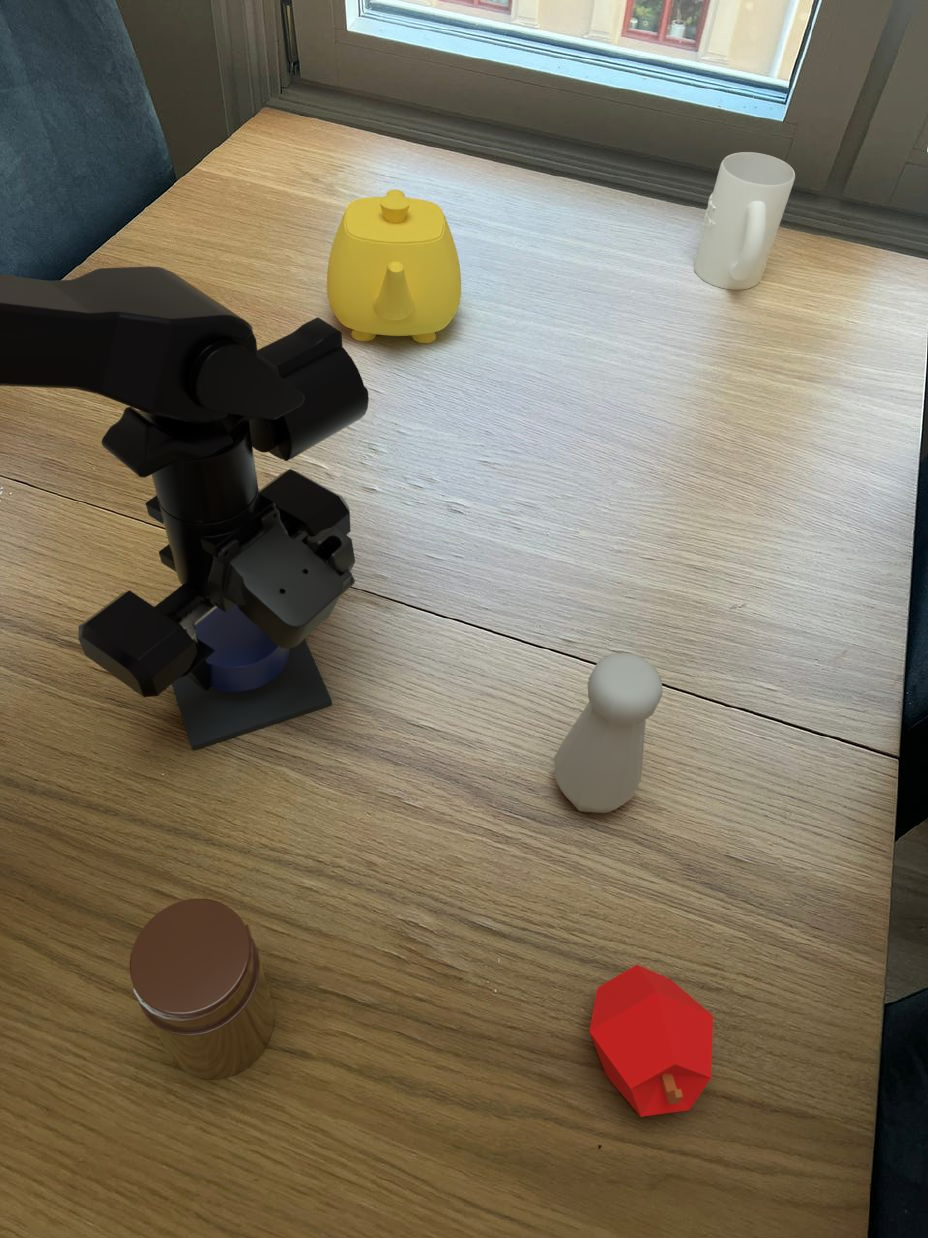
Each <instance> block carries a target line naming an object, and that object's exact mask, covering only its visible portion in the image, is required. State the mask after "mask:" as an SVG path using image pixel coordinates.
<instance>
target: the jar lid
mask: <svg viewBox="0 0 928 1238" xmlns="http://www.w3.org/2000/svg"><path fill="white" fill-rule="evenodd" d="M195 628H196V631H197V635H196V636H197V638H198V639H199V640H201V641H202V642H204V643H205V644H206V645H208V646H209V647H211V648H212V649H214V650H215V652H214V653H213V654H211V655H210V656H209V657H208V658H207V659H206V662H207V666H208V670H209V673H210V678H211V687H213V688H216V689H219V690H223V691H229V692H241V691H248V690H252V689H256V688H258V687H261V686H263V685H265V684H267V683H268V682H270V681H271V680H273V679H274V678H275V677H276V676H277V675H278V674H280V672H281V671H282V670H283V668H284V667H285V665H286V663H287V660H288V657H289V652H290V649H285V648H281V647H279V646H277V645H276V644H274V643H273V642H272V641H271V640H270V638H269V637H268V635H267V634H265V633H264V632H263V631H262V630H261V629H260V628H259V627H258V626H257V625H256V624H254V623H253V622H252V621H251V620H250V619H249V618H248V617H247V616H246V615H245V614H244V613H242V612H241V611H240V610H239V608H238V606H237V605H234V606H233V607H232V608H231V609H230V610H228V611H227V612H224V611H222V610H221V609H219V608H218V607H217V608H216V609H215V610H214V611H213V612H211V613H210V614H209V615H208V616H207V617H205V618H204V619H203V620H202V621H200V622H199V623H198V624H197V625H196V626H195Z"/></svg>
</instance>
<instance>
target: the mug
mask: <svg viewBox="0 0 928 1238" xmlns="http://www.w3.org/2000/svg"><path fill="white" fill-rule="evenodd" d="M795 180H796V173H795V171H794V168H793V167H792V166H791V165H790V164H789V163H787V162H786V161H784V160H782V159H780V158H777V157H776V156H772V155H769V154H765V153H760V152H753V151H743V152H741V151H740V152H735V153H732V154H729V155H727V156H725V157H724V158H723V159H722V161H721V163H720V165H719V169H718V173H717V176H716V180H715V184H714V187H713V191H712V192H711V194H710V195H709V197H708V201H707V208H706V209H705V213H704V217H703V219H704V225H703V228H702V229H703V230H702V232H701V236H700V240H699V244H698V247H697V250H696V254H695V258H694V261H693V269H694V272H695V273H696V275H697V276H698V277H699V278H700V279H701V280H703V282H705V283H707V284H709V285H711V286H714V287H717V288H720V289H721V288H722V289H725V290H733V291H741V290H748V289H751V288H754V287H755V286H757V285H758V284H759V283H760V282H761V281H762V279H763V275H764V272H765V269H766V266H767V264H768V261H769V257H770V255H771V251H772V249H773V245H774V242H775V239H776V237H777V233H778V230H779V228H780V224H781V221H782V219H783V216H784V213H785V209H786V206H787V204H788V200H789V197H790V196H791V195H790V194H791V191H792V188H793V186H794V182H795Z"/></svg>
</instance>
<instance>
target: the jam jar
mask: <svg viewBox="0 0 928 1238" xmlns="http://www.w3.org/2000/svg"><path fill="white" fill-rule="evenodd" d="M129 975H130V980H131V983H132V986H133V989H132V992H133V994H134V996H135V997H136V999H137V1001H138V1005H139V1007H140V1008H141V1010H142V1011H141V1012H143V1014H144V1016H145V1017H146V1019H147V1020H148V1022H149V1023H150V1025H151V1027H152V1028H153V1030H154V1032H155V1033H156V1034H157V1037H158V1038H159V1039H160V1041H161V1043H162V1044H163V1046H164V1048H165V1049H166V1051H167V1052H168V1054H169V1056H170V1057H171V1058H172V1060H173V1061H174V1063H175V1064H176V1065H177V1066H178V1067H179V1069H181V1070H182V1071H184V1072H185V1073H186V1074H188V1075H190V1076H192V1077H195V1078H198V1079H202V1080H221V1079H227V1078H229V1077H232V1076H235V1075H237V1074H239V1073H241V1072H242V1071H244V1070H246V1069H247V1068H249V1067H250V1066H251V1065H252V1064H253V1063H254V1062H255V1061H256V1060H257V1059H258V1058H259V1057H260V1056H261V1054H262V1053H263V1052H264V1051H265V1049H266V1047H267V1045H268V1044H269V1041H270V1039H271V1037H272V1033H273V1030H274V1024H275V1006H274V1002H273V998H272V995H271V991H270V988H269V985H268V981H267V977H266V974H265V970H264V967H263V964H262V961H261V957H260V954H259V949H258V947H257V945H256V942H255V939H253V936H252V934H251V930H250V927H249V924H245V922H244V921H243V919H242V918H241V917H240V915H239V914H238V913H237V912H236V911H235V910H234V909H233V908H231V907H230V906H228V905H226V904H225V903H223V902H220V901H218V900H215V899H209V898H199V897H198V898H190V899H184V900H180V901H176V902H174V903H172V904H170V905H168V906H166V907H164V908H162V910H160V911H158V912H157V913H156V914H155V915H153V917H151V918H150V919H149V920H148V921H147V923H145V924H144V926H143V927H142V929H141V930H140V931H139V933H138V935H137V937H136V939H135V941H134V943H133V946H132V949H131V953H130V957H129Z"/></svg>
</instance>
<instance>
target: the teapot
mask: <svg viewBox="0 0 928 1238" xmlns="http://www.w3.org/2000/svg"><path fill="white" fill-rule="evenodd" d="M327 263H328V264H327V272H326V293H327V294H326V295H327V300H328V304H329V307H330V309H331V311H332V312H333V314H334V316H335V317H336V318H337V320H338V321H339V322H340V323H341V324H342V325H343V326H345V327H346V328H349V329H351V334H350V335H351V337H352V338H353V339H354V340H356V341H358V342H370V341H373V340H374V339H376V337H377V335H378V336H379V335H381V336H391V337H406V336H411V338H412V340H413V341H415V342H417V343H419V344H431V343H432V342H433V343H434V341H436V339H437V335H436V332H440V331H441V330H443V329H445V328H446V327H447V326H448V325H449V324H450V323H451V322H452V320H453V318H454V317H455V316H456V314H457V312H458V310H459V306H460V303H461V297H462V275H461V267H460V260H459V255H458V250H457V248H456V243H455V241H454V237H453V234H452V231H451V228H450V226H449V224H448V220H447V218H446V215H445V213H444V211H443V209H442V208H441V206H439V205H438V203H435V202H432V201H429V200H426V199H420V198H414V197H407V196H405V193H404V191H402V190H400V189H389V190H388V191H386V194H385V195H383V196H369V197H361V198H357V199H354V200H352V201H350V203H348V205H347V206H346V208H345V211H344V212H343V215H342V217H341V220H340V223H339V224H338V227H337V230H336V232H335V235H334V238H333V242H332V244H331V248H330V252H329V257H328V262H327Z"/></svg>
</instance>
